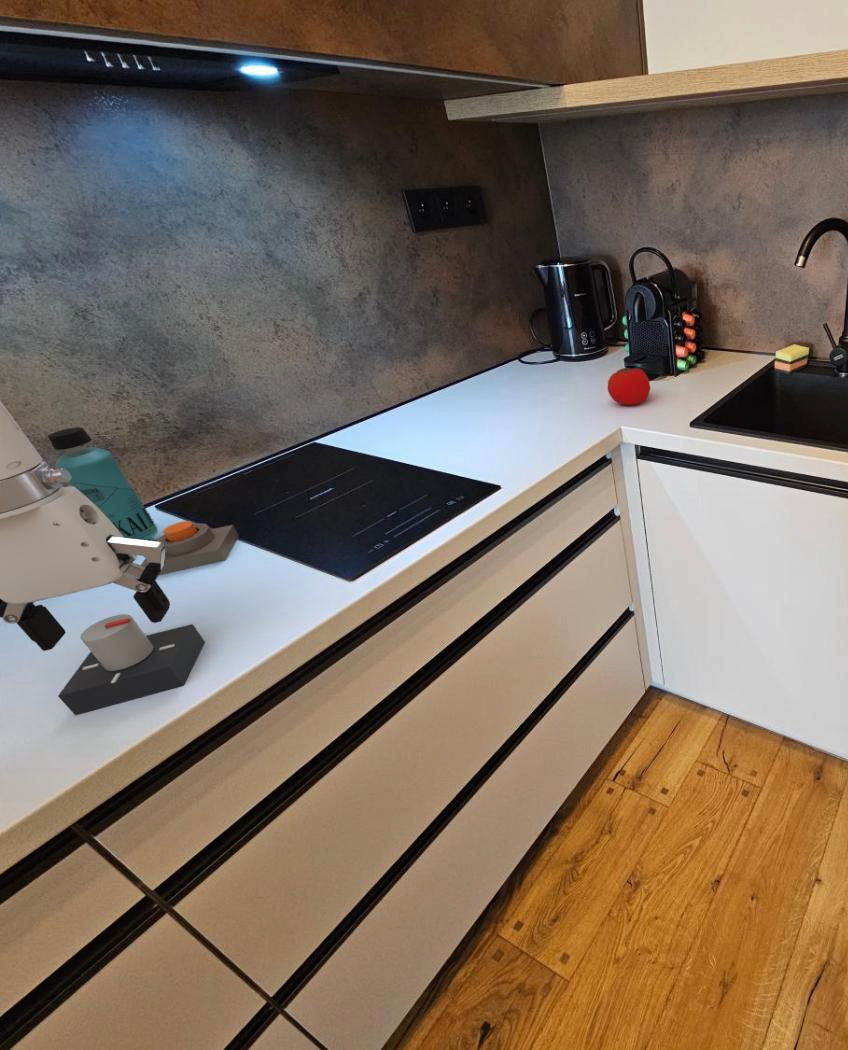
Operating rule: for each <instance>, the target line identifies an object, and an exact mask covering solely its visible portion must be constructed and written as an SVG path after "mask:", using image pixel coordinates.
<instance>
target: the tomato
mask: <svg viewBox="0 0 848 1050" xmlns="http://www.w3.org/2000/svg"><path fill="white" fill-rule="evenodd" d="M606 389H607V393H608V394H609V396H610V397H611V399H612V400H613V401H614V402H615V403H617V404H619V405H624V406H625V405H626V406H635V405H638V404H640V403H641V404H642V402H643V403H644V401H645V400H647V398H648V397H649V395H650V391H651V384H650V379H649V377H648V375H647V374H646V372H645V371H644V370H643V369H641V368H636V367H634V368H630V367H623V368H621V369H618V370H617V371H616V372H614V373H612V375H610V376H609V378H608V381H607V388H606Z"/></svg>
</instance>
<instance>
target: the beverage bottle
mask: <svg viewBox="0 0 848 1050" xmlns="http://www.w3.org/2000/svg"><path fill="white" fill-rule="evenodd" d="M47 438H48V440H49V441H50V443H51V446H52V447H53V449H54V450H55V451H61V450H62V451H63V450H68V449H73V448H77V447H80V446H83V445H86V444H88V443H90V442H92V438H91V436H90V435H89V434H88V433H87V431H86V430H85V429H84V428H83V427H80V426H77V427H76V426H75V427H70V428H69V427H68V428H64V429H60V430H57V431H54V432H52V433H50V434H48V435H47ZM54 468H55V469H61V468H65V469H67V470H68V471H69V472H70V474H71V478H72V479H71V481H68V482H66V484H67V486H68V487H69V486H74V487H75V488H77V489H78V490H79V491H80V492H81V493H83V494H84V495H85V496H86V497H87V498H88V499H89V500H91V501H92V502H93V503H94V504H95V505H96V506H97V507H98V508H99V509H100V510H101V511H102V512H103V513H104V514H105V515H106V517H107V518H108V519H109V520H110V521H111V522H112V523H113V524H114V526H115V527H116V528H117V529H118V530H119V532H120V533H121V534H122V535H123V537H124V538H130V539H138V540H147V541H149V540H150V539H152V538H154V537H155V536H156V535H157V534H158V526H157V524H156V523H155V521H154V518H152V516H151V514H150V512H149V511H148V510H147V508H146V507H147V506H145V504H144V503H143V502H142V501H141V498H140V496H139V495H137V492H136V490H135V489H133V487H132V486H131V484H130V483H129V481H128V480H127V478H126V476H125V475H124V473H123V471H122V470H121V467H119V465H118V463H117V462H116V460H115V459H114V457H113V455H112V453H111V452H110V451H109V450H106V449H103V448H99V447H95V446H89V447H82V448H77V449H74V450H70V451H68V452H66V453H63V454H61V455H60V456H59V457H58V458H57V460H56V462H55V467H54Z"/></svg>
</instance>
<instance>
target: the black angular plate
mask: <svg viewBox="0 0 848 1050" xmlns="http://www.w3.org/2000/svg"><path fill="white" fill-rule="evenodd" d="M143 633H144V632H143ZM144 634H145V635H146V637H147V638H148V639H149V641H150V642H151V643H152V645H153V651H152V652H151V653H150V655H149V656H147V657H146V658H145V659H143V660H142V661H140V662H139V663H137V664H135V665H133V666H130V667H128V668H125V669H121V670H116V671H109V670H106V669H105V668H104V667H103V666H102V664H101V663H100V662H99V661H98V659H97V658H96V657H95V656H94V655H93V653H92V652H91V651H90V652H89V653H88V654H87V656H86V657H85V658H84V660H83V661H82V662H81V664H80V665H79V666H78V668H77V669H76V670H75V672H74V674H73V675H71V678H70V679H69V680H68V682H67V683H66V684H65V686H64V687H63V689H62V690H61V691H60V692H59V694H58V696H57V697H58V698H59V699H60V700H61V702H63V703H64V705H65V706H66V707H67V708H68V709H69V710H70V711H71V712H72V714H73V715H74V716H78V715H81V714H86V713H88V712H92V711H96V710H100V709H104V708H106V707H111V706H114V705H117V704H118V705H119V704H122V703H126V702H128V701H132V700H137V699H140V698H142V697H147V696H150V695H154V694H158V693H162V692H165V691H169V690H172V689H176V688H180V687H184V685H185V683H186V681H187V679H188V677H189V675H190V673H191V671H192V669H193V667H194V665H195V663H196V661H197V659H198V657H199V655H200V653H201V651H202V649H203V647H204V645H205V642H206V641H205V640H204V638H203V637H202V636H201V634H200V632H199V631H198V629H197V628H196V627H195V625H194V624H193V623H190V624H187V625H182V626H178V627H175V628H171V629H167V630H162V631H159V632H155V633H151V634H147V633H146V632H145V633H144Z"/></svg>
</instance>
